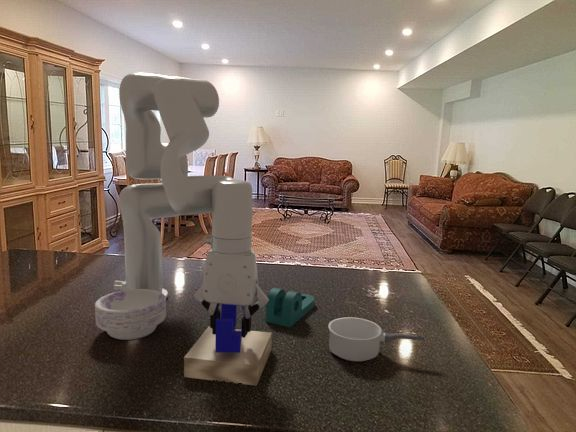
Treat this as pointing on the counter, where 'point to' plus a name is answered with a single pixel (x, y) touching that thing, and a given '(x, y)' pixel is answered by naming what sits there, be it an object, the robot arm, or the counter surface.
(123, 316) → the paper bowls
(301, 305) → the bracket
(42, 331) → the counter surface
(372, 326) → the saucepan
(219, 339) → the blue stepped block
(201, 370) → the plate
